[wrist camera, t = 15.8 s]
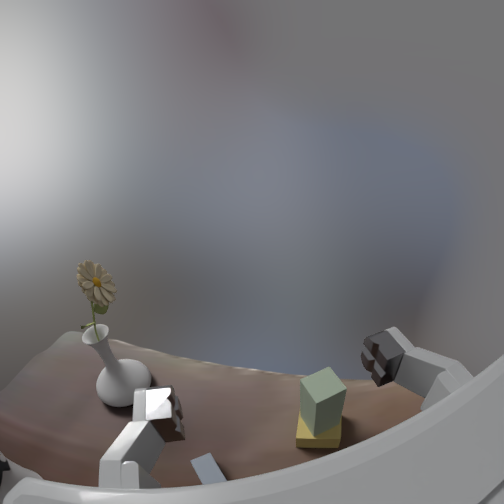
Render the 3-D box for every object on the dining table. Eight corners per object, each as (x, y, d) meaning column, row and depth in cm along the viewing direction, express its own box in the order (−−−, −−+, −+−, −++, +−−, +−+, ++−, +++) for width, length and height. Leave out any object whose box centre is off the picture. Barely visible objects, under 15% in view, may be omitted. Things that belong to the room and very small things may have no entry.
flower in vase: (135, 420, 40) (62, 300, 29) (90, 400, 43) (22, 289, 32) (168, 368, 51) (123, 250, 40) (124, 356, 54) (77, 249, 43)
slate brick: (234, 491, 28) (230, 485, 27) (214, 500, 27) (208, 494, 26) (214, 460, 33) (210, 452, 32) (196, 468, 32) (190, 460, 31)
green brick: (339, 424, 33) (346, 388, 29) (313, 436, 32) (316, 403, 28) (325, 404, 37) (329, 366, 33) (300, 416, 36) (299, 379, 32)
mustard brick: (338, 448, 33) (340, 438, 31) (296, 447, 34) (295, 438, 33) (339, 415, 38) (341, 403, 36) (300, 415, 39) (300, 403, 38)
